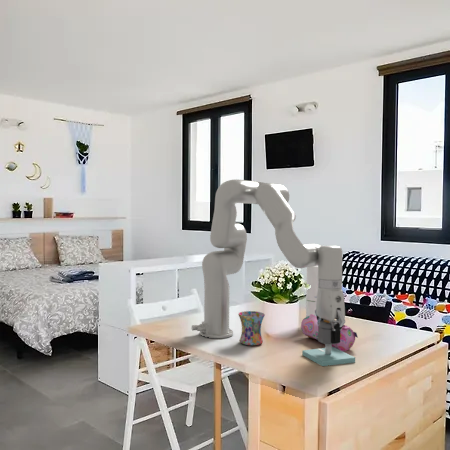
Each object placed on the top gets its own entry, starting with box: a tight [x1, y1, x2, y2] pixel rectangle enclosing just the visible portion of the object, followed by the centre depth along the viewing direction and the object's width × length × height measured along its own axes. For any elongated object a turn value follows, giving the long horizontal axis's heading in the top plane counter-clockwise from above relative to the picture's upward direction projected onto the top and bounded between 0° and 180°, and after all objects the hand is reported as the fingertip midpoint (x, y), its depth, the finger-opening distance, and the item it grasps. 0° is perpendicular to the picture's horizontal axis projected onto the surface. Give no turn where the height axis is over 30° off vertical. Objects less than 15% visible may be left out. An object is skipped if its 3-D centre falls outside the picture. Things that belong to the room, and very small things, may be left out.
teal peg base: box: [301, 344, 356, 367], centre depth 154 cm, size 12×12×5 cm
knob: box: [317, 320, 339, 345], centre depth 153 cm, size 6×6×6 cm
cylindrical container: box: [305, 266, 318, 318], centre depth 197 cm, size 7×7×25 cm
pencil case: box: [300, 314, 359, 352], centre depth 171 cm, size 21×9×9 cm, turn 27°
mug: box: [238, 310, 266, 346], centre depth 171 cm, size 12×9×11 cm
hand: (329, 339), depth 153 cm, fingers closed on knob, 6 cm apart
